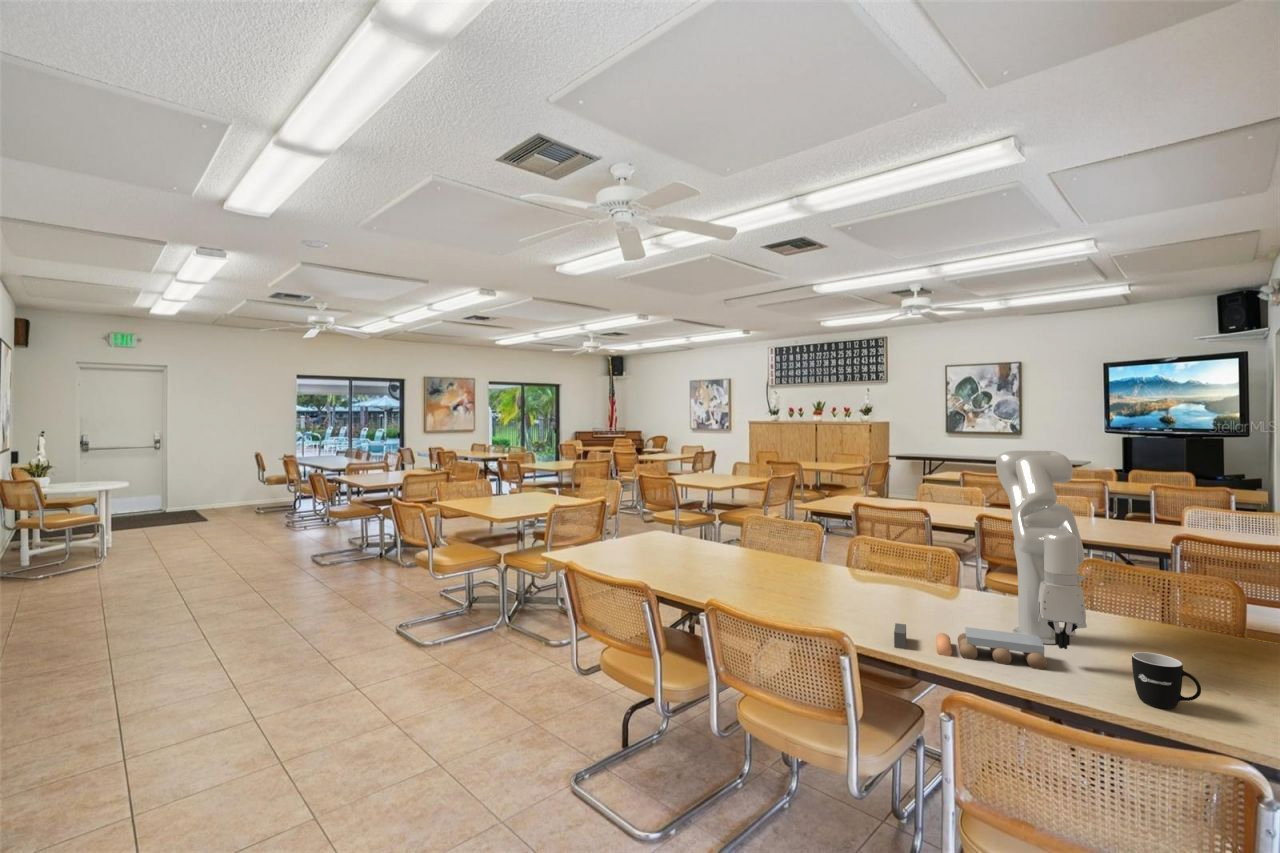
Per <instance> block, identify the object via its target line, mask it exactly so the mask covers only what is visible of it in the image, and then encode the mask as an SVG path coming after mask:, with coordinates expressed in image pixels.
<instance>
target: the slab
mask: <svg viewBox="0 0 1280 853" xmlns="http://www.w3.org/2000/svg"><path fill="white" fill-rule="evenodd" d="M964 633H965V635H966V640H967V644H971V645H974V646H976V647H982V648H989V649H990V648H1004V649H1006V650H1009V651H1012V652H1013V651H1014V652H1021V653H1023V652H1027V653H1034V652H1036V653H1040V654H1042V655H1044V656H1045V644H1043V643H1042V641H1041V640H1040V638H1039V636H1034V635H1026V634H1018V633H1013V632H1011V631H1010V632H1009V631H1001V630H992V629H984V628H976V627H967V626H965V627H964Z"/></svg>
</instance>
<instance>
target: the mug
mask: <svg viewBox="0 0 1280 853" xmlns="http://www.w3.org/2000/svg"><path fill="white" fill-rule="evenodd" d="M1183 666H1184V665H1183V662H1181V661H1180V660H1178V659H1176V658H1174V657H1171V656H1168V655H1165V654H1160V653H1156V652H1147V651H1144V652H1143V651H1138V652H1134V653H1132V655H1131V667H1132V676H1133V680H1134V681H1133V682H1134V687H1135V691H1136V694H1137V696H1138V698H1139V699H1140V701H1142V703H1144V704H1147V705H1149V706H1153V707H1155V708H1160V709H1174V708H1176V707H1177V706H1178V704H1179V702H1190V701H1194V700H1196V699H1198V698H1199V697H1200V696H1201V693H1202V687H1201V686H1202V685H1201V684H1200V682H1199V681H1198V679H1197V678H1196V677H1195V676H1193V675H1192V674H1191V673H1189V672H1187V671H1185V670H1184V668H1183ZM1184 677H1187V678H1189V679H1190V680H1192V681H1193V682H1194V684H1195V686H1196V692H1195V694H1194V695H1191V696H1183V695H1182V688H1183V678H1184Z"/></svg>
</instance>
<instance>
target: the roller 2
mask: <svg viewBox="0 0 1280 853" xmlns="http://www.w3.org/2000/svg"><path fill="white" fill-rule="evenodd" d="M957 643H958V644H957V645H958V651H959V655H960V656H961V658H963V659H965V660H973V661H974V660H976V659H977V657H978V649H977V646H974V645H971V644H967V640H966V635H965V632H963V633H960V634H959V635H958V636H957Z"/></svg>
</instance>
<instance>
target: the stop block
mask: <svg viewBox="0 0 1280 853" xmlns="http://www.w3.org/2000/svg"><path fill="white" fill-rule="evenodd" d="M893 640H894V641H893V642H894V643H893V644H894V648H895V649H899V650H900V649H902V650H906V649H907V624H906V623H897V622H896V623H895V624H894V630H893Z"/></svg>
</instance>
